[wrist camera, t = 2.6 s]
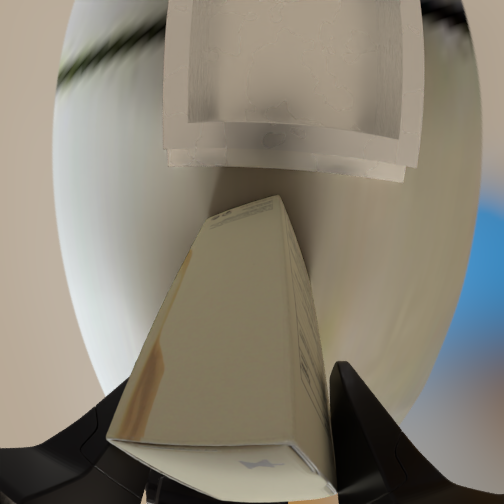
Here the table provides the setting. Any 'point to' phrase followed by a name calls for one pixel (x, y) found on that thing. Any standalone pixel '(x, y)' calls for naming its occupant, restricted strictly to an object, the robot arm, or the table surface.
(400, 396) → the table surface
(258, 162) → the square open tray
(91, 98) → the table surface
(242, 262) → the skincare box
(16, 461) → the robot arm
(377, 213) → the table surface
